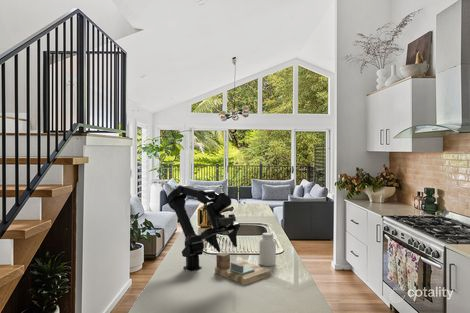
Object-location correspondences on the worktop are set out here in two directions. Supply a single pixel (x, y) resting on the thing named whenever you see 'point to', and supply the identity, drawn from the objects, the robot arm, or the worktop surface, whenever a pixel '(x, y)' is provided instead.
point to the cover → (240, 268)
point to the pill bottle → (267, 250)
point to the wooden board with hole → (246, 277)
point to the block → (223, 260)
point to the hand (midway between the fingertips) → (228, 249)
